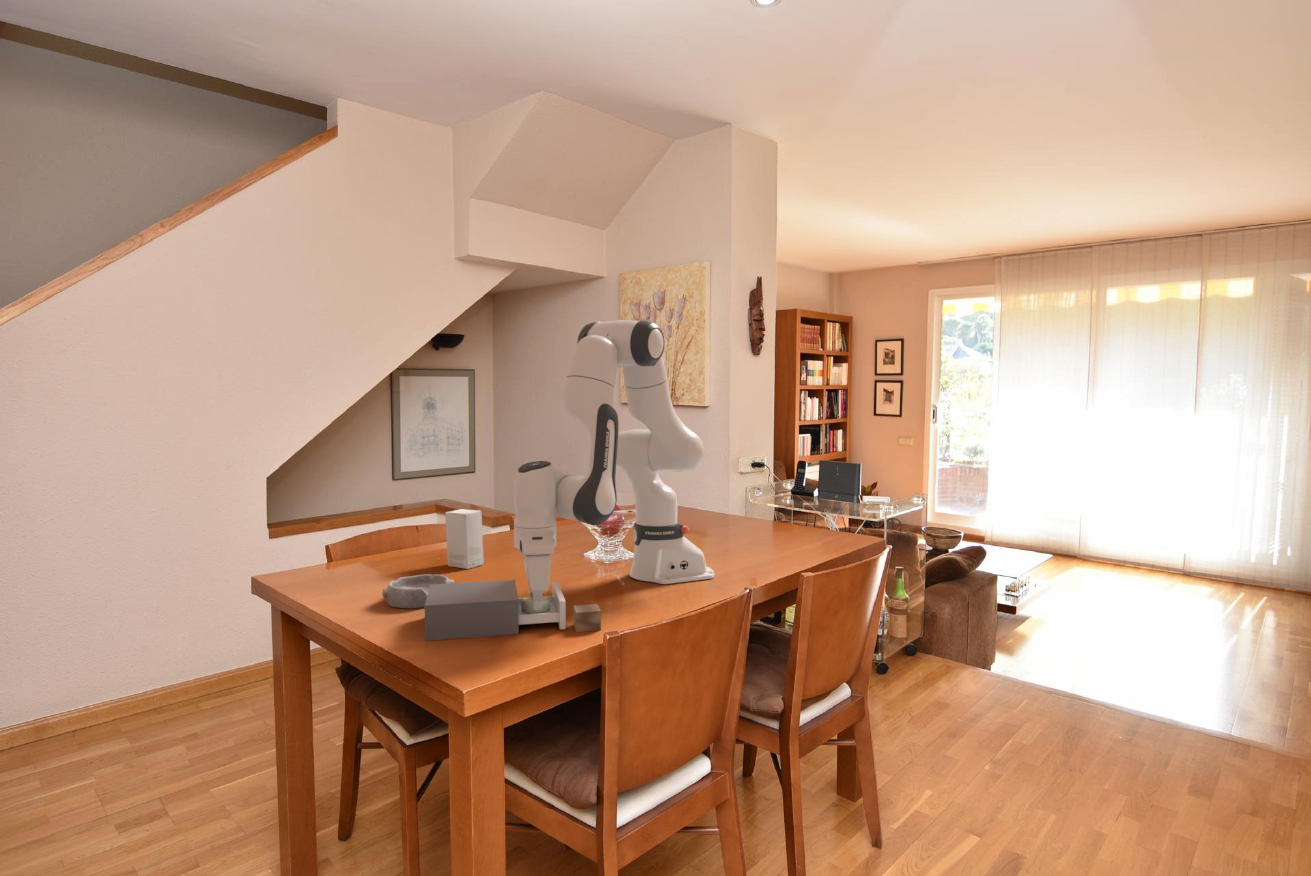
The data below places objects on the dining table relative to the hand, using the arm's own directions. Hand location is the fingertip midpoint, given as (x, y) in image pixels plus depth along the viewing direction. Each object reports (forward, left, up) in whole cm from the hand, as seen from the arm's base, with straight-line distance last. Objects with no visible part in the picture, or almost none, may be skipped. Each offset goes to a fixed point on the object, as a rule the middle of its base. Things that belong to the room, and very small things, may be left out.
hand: (535, 602), depth 153 cm
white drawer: (+3, 0, -4) cm, 5 cm away
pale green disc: (0, 0, -2) cm, 2 cm away
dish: (+26, -21, -4) cm, 34 cm away
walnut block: (-10, +7, -4) cm, 13 cm away
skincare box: (+16, -54, -4) cm, 56 cm away
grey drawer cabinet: (+13, 0, -4) cm, 14 cm away
